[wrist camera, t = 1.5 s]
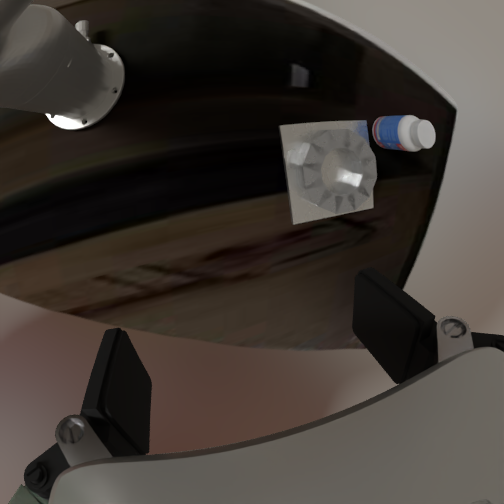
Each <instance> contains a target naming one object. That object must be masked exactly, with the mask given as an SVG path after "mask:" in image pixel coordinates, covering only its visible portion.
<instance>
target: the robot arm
mask: <svg viewBox="0 0 504 504" xmlns="http://www.w3.org/2000/svg"><path fill="white" fill-rule="evenodd" d="M33 1H34V0H0V107H5V108H13V109H20V110H26V111H33V112H39V113H44V114H46V115H47V117H48V118H49V120H50V121H51V122H52V123H53V124H54V125H56V126H58V127H60V128H62V129H67V130H79V129H84V128H87V127H90V126H92V125H94V124H95V123H97V122H99V121H100V120H101V119H103V118H104V117H105V116H106V115H107V114H108V113H109V112H110V111H111V110H112V108H113V107H114V106H115V104H116V103H117V101H118V99H119V97H120V96H121V93H122V90H123V87H124V82H125V68H124V64H123V62H122V60H121V58H120V56H119V55H118V54H117V53H116V52H115V51H114V50H113V49H112V48H110V47H108V46H106V45H101V44H92V43H91V38H89V37H88V32H89V22H88V21H86V20H84V21H80V22H78V23H76V25H75V27H74V26H73V25H72V24H71V23H70V22H69V21H68V20H66V19H65V17H64V16H63V15H61V14H60V13H59V12H58V11H57V10H55V9H53V8H51V7H48V6H44V5H30V4H31V3H32V2H33ZM112 56H113V57H112ZM111 57H112V58H111ZM116 90H117V93H115V91H116ZM54 116H55V117H54ZM86 120H87V123H85V122H86ZM434 319H435V315H433V314H432V313H431V312H430V311H428V310H427V309H426V308H425V307H423V306H422V305H421V304H420V303H418V302H417V301H416V300H415V299H413V298H412V297H411V296H410V295H408V294H407V293H406V292H404V291H403V290H402V289H401V288H399V287H398V286H397V285H395V284H394V283H393V282H391V281H390V280H389V279H387V278H386V277H385V276H383V275H382V274H381V273H379V272H378V271H377V270H375V269H374V268H372V267H370V268H367V269H363V270H360V271H359V272H358V275H356V277H355V290H354V309H353V324H352V328H353V332H354V333H355V335H356V336H357V337H358V338H359V340H360V341H361V342H362V343H363V344H364V346H365V347H366V348H367V349H368V350H369V352H370V353H371V354H372V355H373V357H374V358H375V359H376V360H377V361H378V363H379V364H380V365H381V366H382V368H383V369H384V370H385V371H386V373H388V375H389V376H390V377H391V379H392V380H393V381H394V382H395V383H396V384H399V385H397V386H395V387H393V388H391V389H389V390H387V391H385V392H383V393H381V394H379V395H377V396H375V397H373V398H370V399H368V400H366V401H364V402H362V403H359V404H357V405H355V406H352V407H350V408H348V409H345V410H343V411H340V412H338V413H335V414H332V415H330V416H327V417H325V418H322V419H319V420H316V421H313V422H310V423H307V424H304V425H301V426H298V427H295V428H292V429H289V430H285V431H282V432H278V433H275V434H271V435H267V436H263V437H260V438H256V439H251V440H247V441H242V442H238V443H233V444H228V445H223V446H217V447H211V448H205V449H199V450H192V451H183V452H174V453H165V454H155V455H146V453H149V436H150V432H149V431H150V407H151V390H152V382H151V379H150V376H149V375H148V373H147V371H146V369H145V368H144V366H143V364H142V362H141V360H140V359H139V356H138V355H137V352H136V351H135V349H134V347H133V345H132V343H131V341H130V339H129V336H128V334H127V333H126V331H122V330H121V329H120V328H114V329H108V330H106V331H105V334H104V336H103V339H102V342H101V345H100V348H99V351H98V354H97V357H96V360H95V363H94V366H93V369H92V373H91V376H90V379H89V383H88V386H87V390H86V393H85V397H84V401H83V405H82V409H81V413H80V415H70V416H67V417H65V418H64V419H63V420H61V421H60V423H59V424H58V425H57V428H56V431H55V436H56V440H57V443H56V444H54V445H53V446H52V447H51V448H49V449H48V450H47V451H45V452H44V453H43V454H42V455H40V456H39V457H38V458H36V459H35V460H34V461H32V462H31V463H30V464H29V465H28V466H27V468H26V469H25V473H24V481H25V484H26V485H25V486H23V485H22V484H21V486H20V487H19V488H18V490H17V491H16V493H15V494H14V496H13V497H12V499H11V500H10V501H9V503H8V504H504V336H503V335H496V334H485V333H476V332H471V331H470V328H469V325H468V324H467V323H466V322H465V321H464V320H462V319H461V318H458V317H454V316H446V317H443V318H441V319H440V320H439V321H438V323H437V322H436V321H435V320H434Z"/></svg>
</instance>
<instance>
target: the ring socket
mask: <svg viewBox="0 0 504 504" xmlns="http://www.w3.org/2000/svg"><path fill="white" fill-rule="evenodd" d="M278 129H279V135H280V142H281V148H282V155H283V162H284V169H285V176H286V183H287V191H288V198H289V206H290V214H291V222H292V224H293V225H294V224H299V223H304V222H308V221H313V220H318V219H322V218H327V217H332V216H337V215H341V214H346V213H351V212H356V211H361V210H366V209H371V208H373V187H374V184H375V182H376V179H377V171H376V158H375V155H374V153H373V152H372V150H371V148H370V146H369V137H368V129H367V121H366V120H360V121H330V122H314V123H301V124H291V125H281V126H278Z"/></svg>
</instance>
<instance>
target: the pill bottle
mask: <svg viewBox="0 0 504 504" xmlns="http://www.w3.org/2000/svg"><path fill="white" fill-rule="evenodd" d="M372 133H373V137H374V140H375V141H376V143H377V144H378V145H379V146H380V147H382V148H386V149H395V150H404V151H418V150H420V149H421V148H431V147H432V146H433V144H434V142H435V130H434V128H433V126H432V124H431V123H430V122H429V121H427V120H419V119H418V118H417V117H415V116H412V115H402V116H383V117H379V118H378V119H376V120H375V122H374V124H373V128H372Z"/></svg>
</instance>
